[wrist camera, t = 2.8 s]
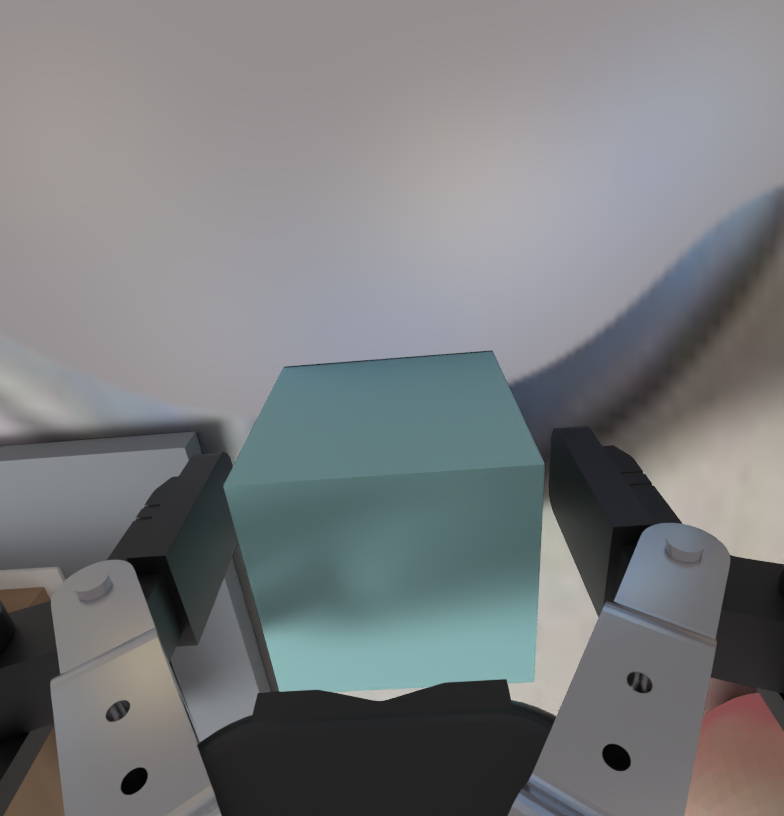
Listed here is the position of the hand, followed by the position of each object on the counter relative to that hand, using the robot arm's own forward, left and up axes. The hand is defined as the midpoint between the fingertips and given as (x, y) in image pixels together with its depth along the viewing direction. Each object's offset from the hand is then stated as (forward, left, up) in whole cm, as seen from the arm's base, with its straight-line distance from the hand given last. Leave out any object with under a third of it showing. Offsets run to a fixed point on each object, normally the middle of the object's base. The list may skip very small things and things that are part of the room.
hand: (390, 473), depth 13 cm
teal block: (0, 0, -1) cm, 1 cm away
